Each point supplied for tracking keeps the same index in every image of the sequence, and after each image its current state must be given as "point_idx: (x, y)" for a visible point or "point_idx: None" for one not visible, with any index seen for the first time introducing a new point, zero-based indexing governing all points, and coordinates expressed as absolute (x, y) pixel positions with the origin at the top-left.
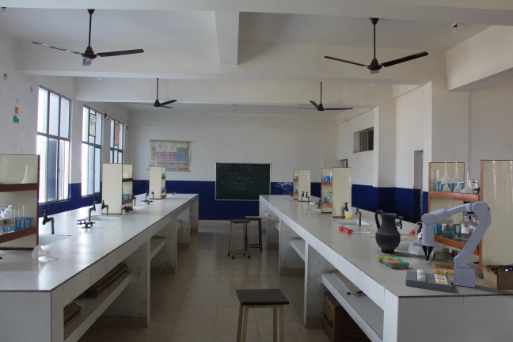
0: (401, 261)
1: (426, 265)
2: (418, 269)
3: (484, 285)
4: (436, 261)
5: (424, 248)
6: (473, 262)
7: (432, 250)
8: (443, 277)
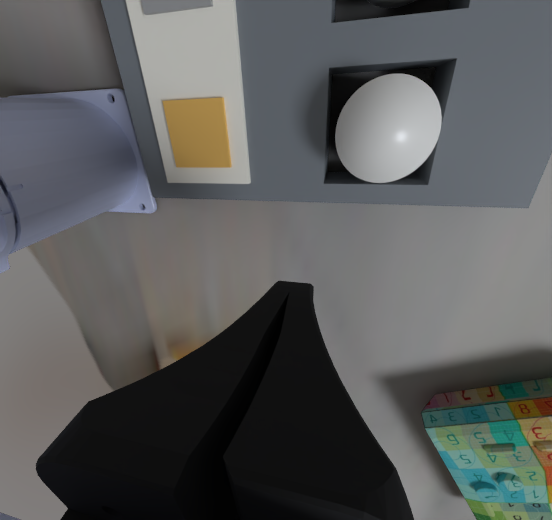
0: (492, 446)
1: None
2: (413, 167)
3: None
4: None
5: (334, 494)
6: None
7: (101, 398)
8: (160, 64)
